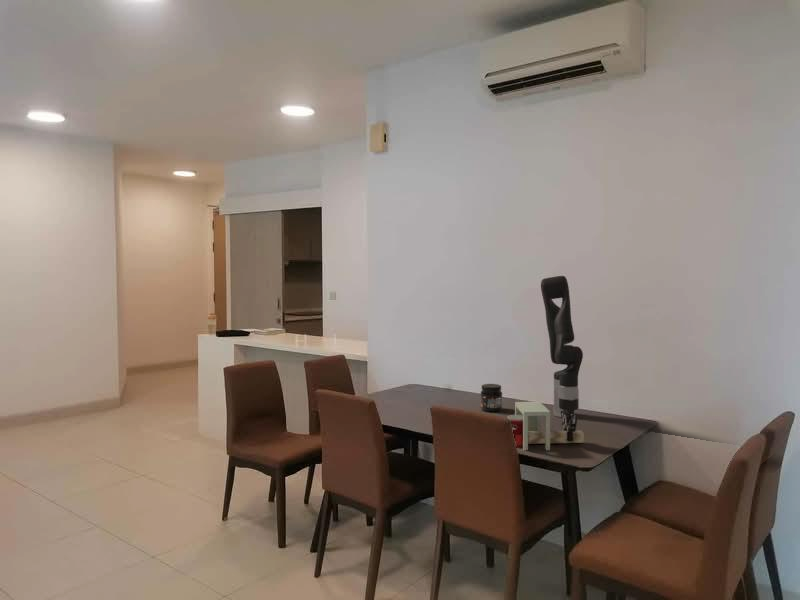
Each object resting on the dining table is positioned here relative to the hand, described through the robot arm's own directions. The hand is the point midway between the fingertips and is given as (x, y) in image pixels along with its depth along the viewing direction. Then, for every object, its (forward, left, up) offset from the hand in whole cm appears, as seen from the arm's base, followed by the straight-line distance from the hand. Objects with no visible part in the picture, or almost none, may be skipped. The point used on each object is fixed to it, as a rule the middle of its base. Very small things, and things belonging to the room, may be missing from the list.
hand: (568, 439), depth 230 cm
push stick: (0, -5, -1) cm, 5 cm away
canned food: (0, -20, -2) cm, 20 cm away
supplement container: (-54, -22, -2) cm, 58 cm away
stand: (0, -15, -2) cm, 15 cm away
